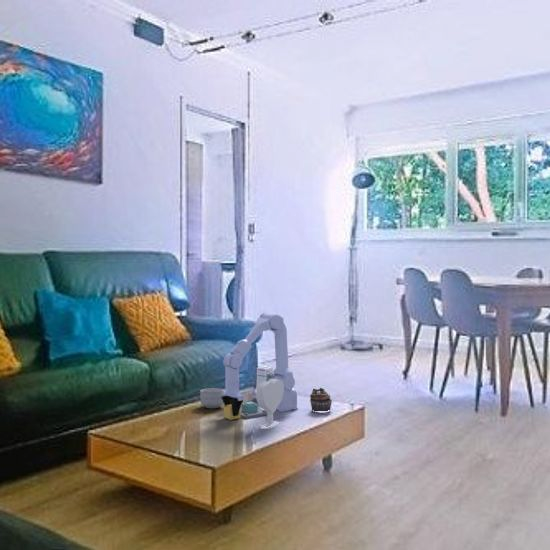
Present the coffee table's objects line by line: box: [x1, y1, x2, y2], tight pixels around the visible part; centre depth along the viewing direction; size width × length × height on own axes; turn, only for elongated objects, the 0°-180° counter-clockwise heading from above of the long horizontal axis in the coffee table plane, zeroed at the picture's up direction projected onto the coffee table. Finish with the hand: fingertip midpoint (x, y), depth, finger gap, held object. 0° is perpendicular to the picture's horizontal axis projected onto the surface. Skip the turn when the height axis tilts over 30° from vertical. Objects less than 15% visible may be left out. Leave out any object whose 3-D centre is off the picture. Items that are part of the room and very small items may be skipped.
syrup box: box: [256, 365, 274, 387], centre depth 298 cm, size 6×6×14 cm
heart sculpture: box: [255, 379, 284, 427], centre depth 250 cm, size 16×5×18 cm, turn 148°
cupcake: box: [309, 387, 333, 411], centre depth 272 cm, size 10×10×10 cm
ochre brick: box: [223, 404, 241, 421], centre depth 259 cm, size 5×5×5 cm
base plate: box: [240, 401, 267, 420], centre depth 267 cm, size 12×12×5 cm
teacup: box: [199, 387, 224, 409], centre depth 277 cm, size 14×11×8 cm
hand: (232, 414), depth 259 cm, fingers closed on ochre brick, 5 cm apart
